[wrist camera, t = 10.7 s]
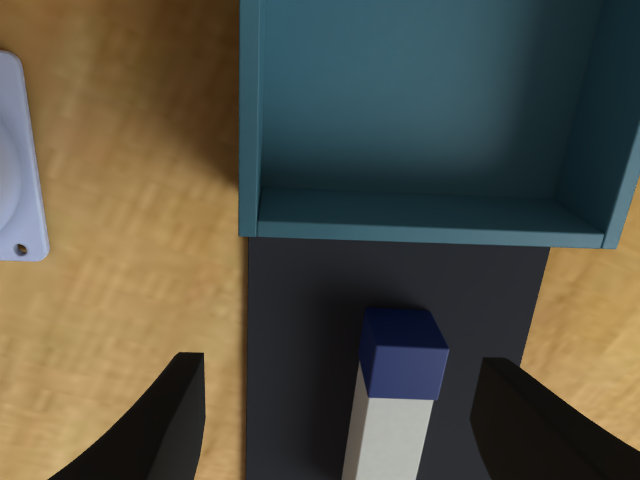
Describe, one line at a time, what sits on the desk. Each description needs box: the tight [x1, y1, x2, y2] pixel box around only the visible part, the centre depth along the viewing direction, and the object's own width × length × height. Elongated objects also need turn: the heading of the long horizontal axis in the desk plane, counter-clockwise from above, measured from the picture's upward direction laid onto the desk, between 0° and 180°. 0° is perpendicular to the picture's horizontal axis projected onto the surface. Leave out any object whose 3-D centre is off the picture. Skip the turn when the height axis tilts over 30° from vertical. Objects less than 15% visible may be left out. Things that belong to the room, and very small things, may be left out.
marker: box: [341, 307, 449, 480], centre depth 24 cm, size 12×3×3 cm, turn 174°
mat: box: [246, 236, 550, 480], centre depth 25 cm, size 13×19×1 cm
